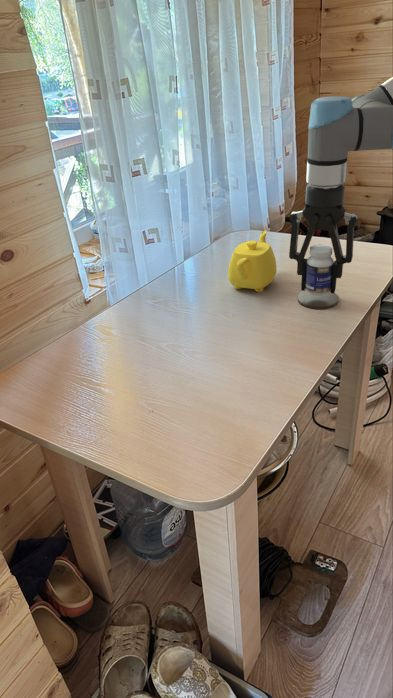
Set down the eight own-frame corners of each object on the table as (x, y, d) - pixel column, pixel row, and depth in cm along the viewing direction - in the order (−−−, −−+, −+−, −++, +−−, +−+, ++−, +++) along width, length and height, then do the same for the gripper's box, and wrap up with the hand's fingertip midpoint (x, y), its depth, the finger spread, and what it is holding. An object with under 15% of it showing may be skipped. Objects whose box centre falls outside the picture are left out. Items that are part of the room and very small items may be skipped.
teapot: (245, 265, 135) (244, 226, 129) (286, 270, 130) (287, 229, 124) (218, 295, 121) (215, 252, 115) (262, 302, 117) (262, 257, 111)
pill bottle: (318, 298, 111) (321, 255, 106) (299, 290, 115) (301, 248, 110) (337, 291, 114) (340, 248, 108) (317, 283, 118) (320, 241, 112)
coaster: (340, 292, 118) (340, 290, 118) (336, 311, 111) (336, 308, 110) (301, 289, 121) (301, 287, 120) (294, 307, 114) (294, 304, 113)
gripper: (376, 179, 102) (363, 285, 114) (282, 177, 108) (280, 278, 120) (373, 190, 96) (360, 300, 108) (274, 187, 102) (273, 292, 114)
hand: (318, 289), depth 114 cm, fingers closed on pill bottle, 6 cm apart
